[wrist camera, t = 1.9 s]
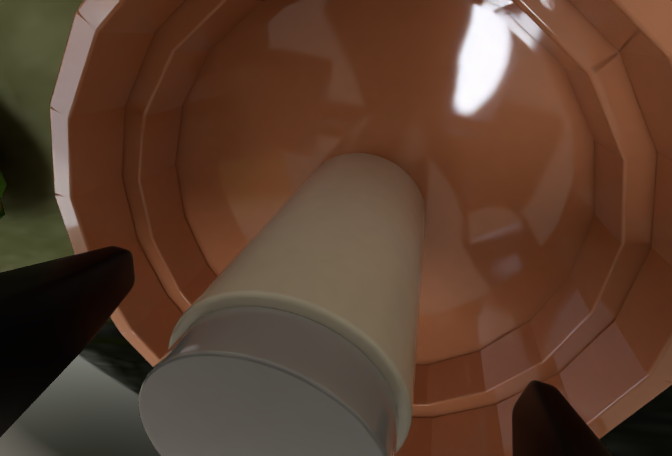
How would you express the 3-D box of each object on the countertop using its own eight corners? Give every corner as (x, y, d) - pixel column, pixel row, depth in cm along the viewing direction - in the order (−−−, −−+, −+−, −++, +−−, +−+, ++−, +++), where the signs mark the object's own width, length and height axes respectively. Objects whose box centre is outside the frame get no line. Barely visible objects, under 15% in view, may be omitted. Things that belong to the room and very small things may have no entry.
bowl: (771, 201, 10) (969, 303, 7) (383, 423, 18) (369, 527, 14) (318, -259, 8) (217, -505, 5) (105, 211, 16) (2, 267, 13)
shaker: (455, 213, 12) (480, 494, 5) (367, 289, 14) (293, 561, 7) (350, 123, 12) (198, 280, 4) (276, 215, 14) (91, 425, 6)
